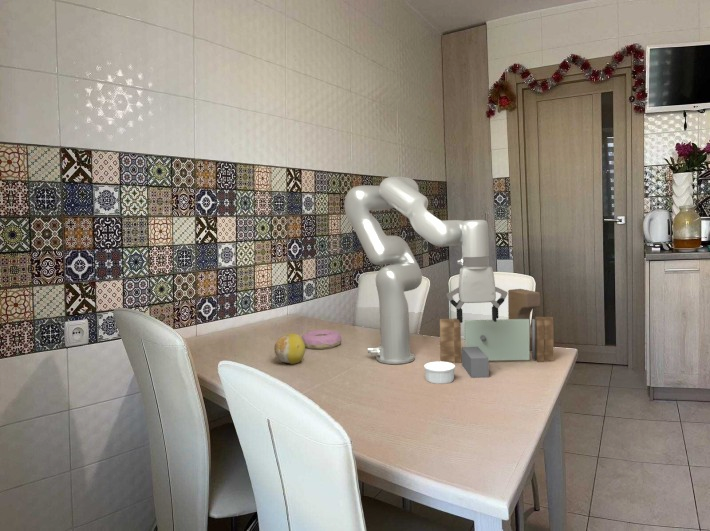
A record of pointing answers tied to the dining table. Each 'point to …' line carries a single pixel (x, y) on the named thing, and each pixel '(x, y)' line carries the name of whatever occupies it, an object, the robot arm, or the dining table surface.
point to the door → (501, 338)
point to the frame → (452, 340)
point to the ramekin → (439, 372)
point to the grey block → (475, 362)
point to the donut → (321, 339)
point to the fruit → (290, 348)
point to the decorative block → (522, 306)
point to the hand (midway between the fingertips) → (477, 321)
